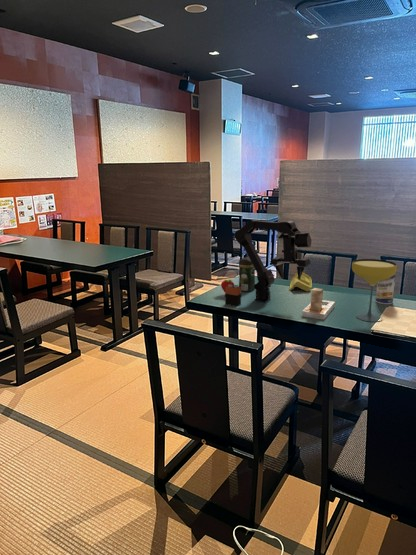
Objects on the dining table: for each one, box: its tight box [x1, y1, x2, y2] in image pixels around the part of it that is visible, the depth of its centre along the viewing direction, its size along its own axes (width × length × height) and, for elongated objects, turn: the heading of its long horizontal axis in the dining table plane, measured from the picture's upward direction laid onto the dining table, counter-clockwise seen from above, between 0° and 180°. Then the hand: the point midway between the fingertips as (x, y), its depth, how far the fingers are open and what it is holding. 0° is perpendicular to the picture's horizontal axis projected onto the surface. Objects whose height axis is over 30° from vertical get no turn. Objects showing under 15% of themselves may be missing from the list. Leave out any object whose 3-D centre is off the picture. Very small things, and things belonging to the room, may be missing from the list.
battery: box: [224, 284, 242, 307], centre depth 200 cm, size 4×7×10 cm, turn 59°
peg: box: [310, 287, 324, 312], centre depth 184 cm, size 4×4×12 cm
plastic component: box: [288, 272, 313, 292], centre depth 232 cm, size 20×7×10 cm
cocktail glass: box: [351, 258, 398, 323], centre depth 178 cm, size 18×18×25 cm
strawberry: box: [220, 278, 235, 293], centre depth 216 cm, size 6×8×10 cm
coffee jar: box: [238, 256, 256, 293], centre depth 225 cm, size 10×8×19 cm
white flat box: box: [301, 299, 336, 321], centre depth 190 cm, size 10×21×3 cm, turn 151°
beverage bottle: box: [374, 274, 396, 305], centre depth 201 cm, size 8×8×20 cm
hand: (290, 279), depth 197 cm, fingers open, 9 cm apart
